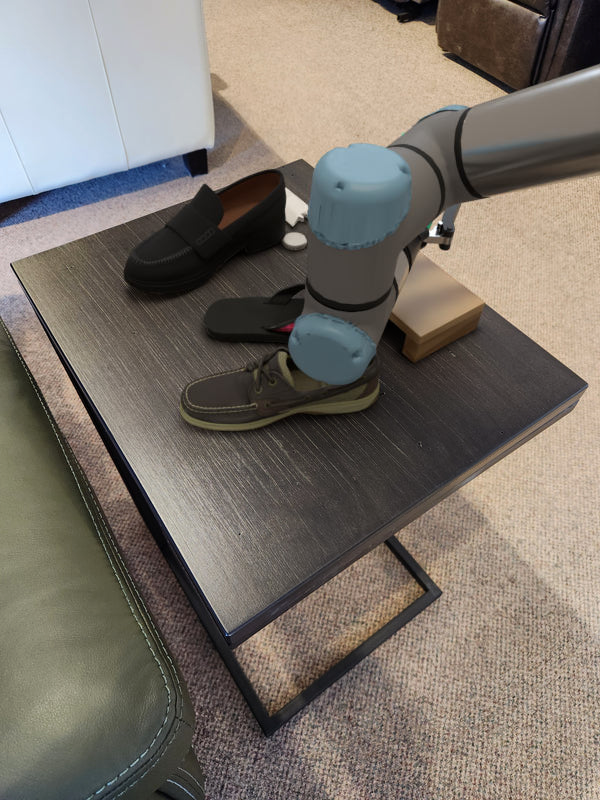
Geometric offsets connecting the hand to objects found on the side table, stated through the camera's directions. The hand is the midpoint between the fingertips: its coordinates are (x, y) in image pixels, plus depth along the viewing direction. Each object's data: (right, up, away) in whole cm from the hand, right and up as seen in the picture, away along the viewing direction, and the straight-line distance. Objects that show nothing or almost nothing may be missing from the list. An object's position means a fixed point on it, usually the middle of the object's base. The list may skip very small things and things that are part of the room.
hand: (428, 153), depth 75 cm
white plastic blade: (-17, 0, +26) cm, 31 cm away
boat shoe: (-19, -31, +1) cm, 36 cm away
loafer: (-30, -9, +18) cm, 36 cm away
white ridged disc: (-17, -6, +21) cm, 28 cm away
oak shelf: (-2, -16, +13) cm, 21 cm away
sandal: (-17, -21, +9) cm, 28 cm away
